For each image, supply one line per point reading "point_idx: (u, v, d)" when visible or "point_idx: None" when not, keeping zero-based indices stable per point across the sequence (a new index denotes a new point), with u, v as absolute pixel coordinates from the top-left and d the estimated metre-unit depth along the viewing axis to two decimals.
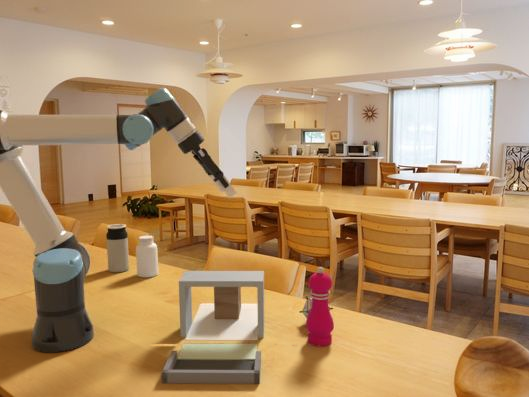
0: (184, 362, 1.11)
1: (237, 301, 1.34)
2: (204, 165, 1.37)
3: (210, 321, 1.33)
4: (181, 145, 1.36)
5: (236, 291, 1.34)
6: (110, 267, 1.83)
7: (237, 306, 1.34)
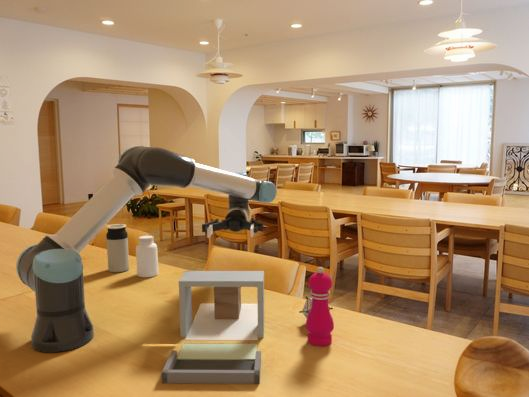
0: (184, 362, 1.11)
1: (237, 301, 1.34)
2: (244, 221, 1.57)
3: (210, 321, 1.33)
4: (242, 211, 1.65)
5: (236, 291, 1.34)
6: (110, 267, 1.83)
7: (237, 306, 1.34)
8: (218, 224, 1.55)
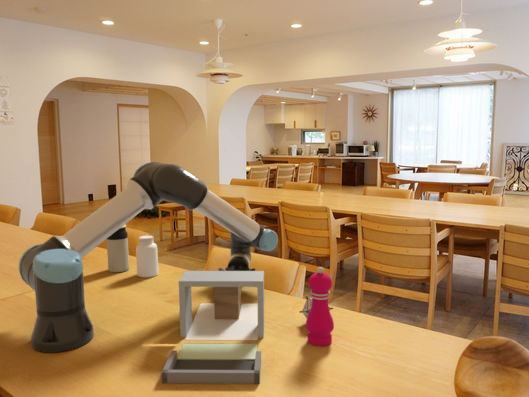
0: (184, 362, 1.11)
1: (237, 301, 1.34)
2: None
3: (210, 321, 1.33)
4: (244, 258, 1.65)
5: (236, 291, 1.34)
6: (110, 267, 1.83)
7: (237, 306, 1.34)
8: None
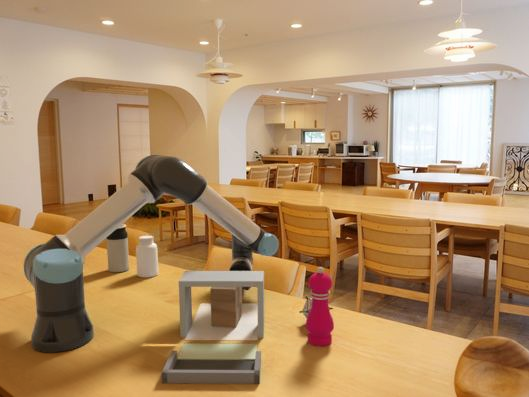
0: (184, 362, 1.11)
1: (234, 309, 1.28)
2: None
3: (210, 321, 1.33)
4: (246, 263, 1.60)
5: (233, 298, 1.28)
6: (110, 267, 1.83)
7: (234, 314, 1.29)
8: None
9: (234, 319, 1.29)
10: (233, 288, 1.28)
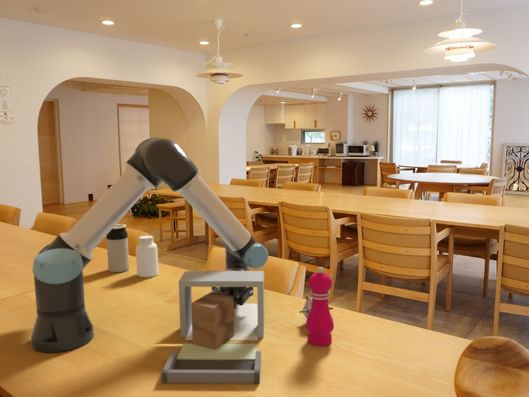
0: (184, 362, 1.11)
1: (213, 329, 1.16)
2: (235, 290, 1.38)
3: None
4: None
5: (212, 317, 1.15)
6: (110, 267, 1.83)
7: (213, 335, 1.16)
8: (228, 294, 1.35)
9: (213, 340, 1.16)
10: (213, 306, 1.16)
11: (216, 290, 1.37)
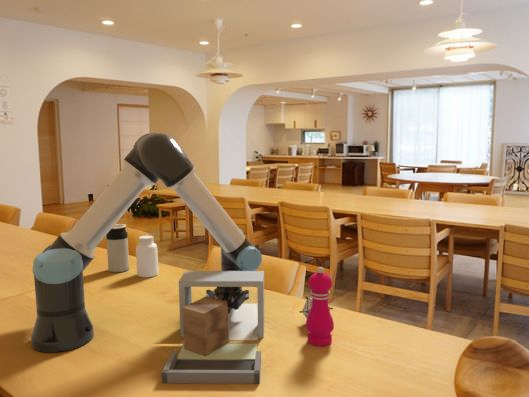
0: (184, 362, 1.11)
1: (204, 335, 1.12)
2: (230, 293, 1.34)
3: None
4: None
5: (202, 323, 1.12)
6: (110, 267, 1.83)
7: (204, 341, 1.12)
8: (223, 298, 1.32)
9: (204, 346, 1.13)
10: (204, 311, 1.12)
11: (210, 294, 1.34)
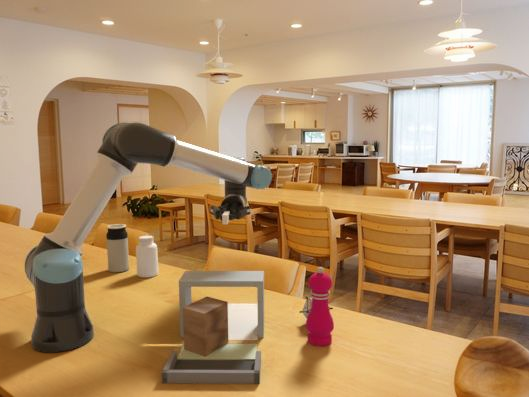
0: (184, 362, 1.11)
1: (203, 335, 1.12)
2: (233, 207, 1.45)
3: None
4: (239, 197, 1.54)
5: (202, 323, 1.12)
6: (110, 267, 1.83)
7: (203, 341, 1.12)
8: (226, 210, 1.42)
9: (203, 347, 1.13)
10: (204, 311, 1.12)
11: (215, 208, 1.44)
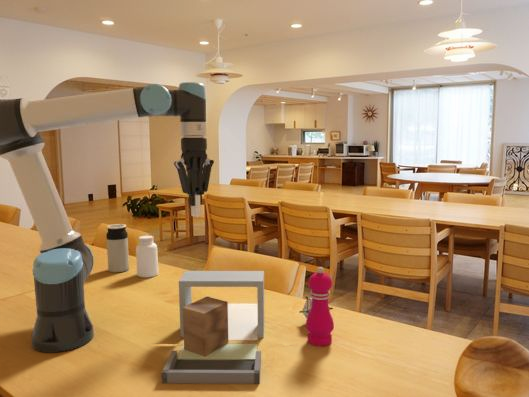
0: (184, 362, 1.11)
1: (203, 335, 1.12)
2: None
3: None
4: None
5: (202, 323, 1.12)
6: (110, 267, 1.83)
7: (203, 341, 1.12)
8: (195, 179, 1.39)
9: (203, 347, 1.13)
10: (204, 311, 1.12)
11: None
